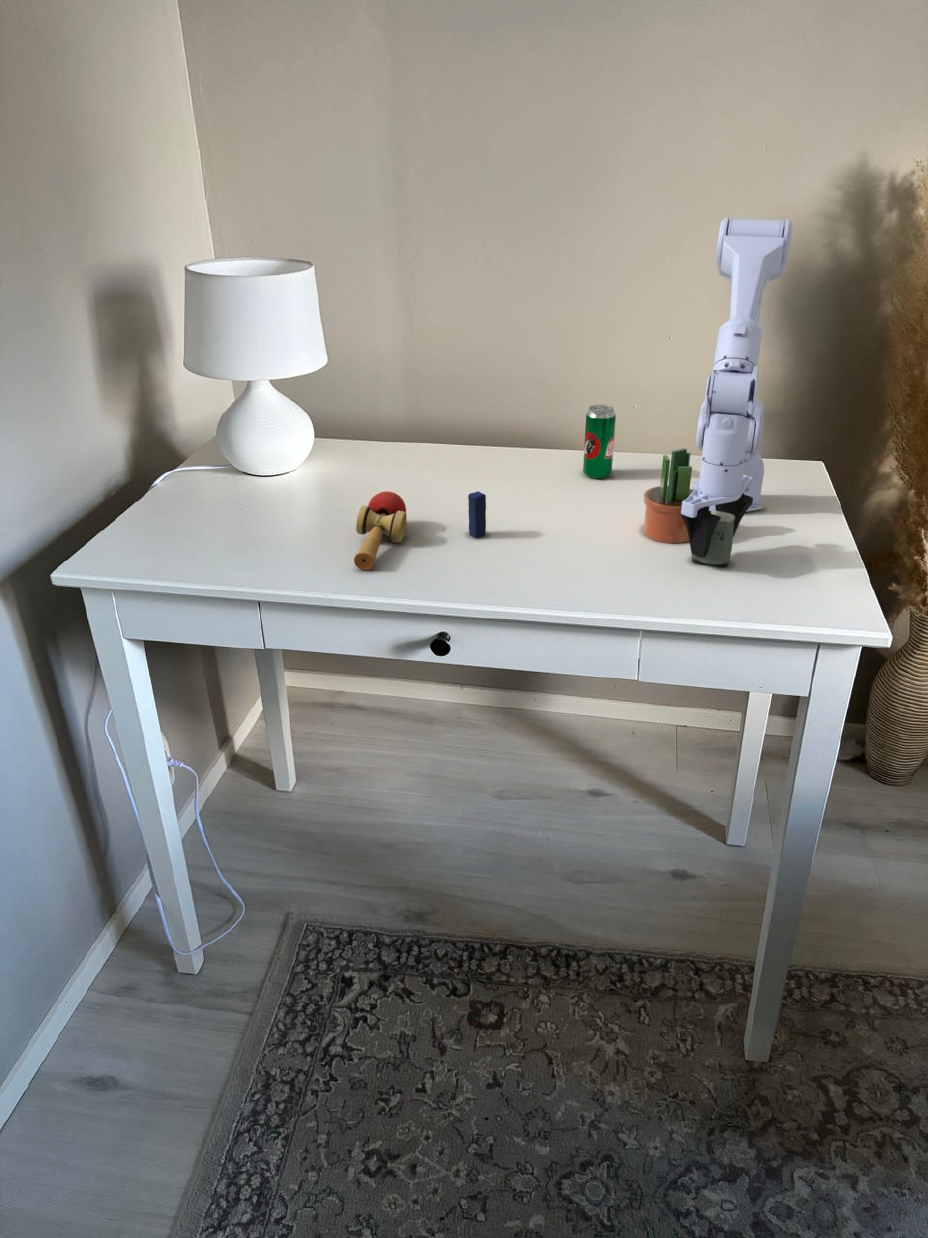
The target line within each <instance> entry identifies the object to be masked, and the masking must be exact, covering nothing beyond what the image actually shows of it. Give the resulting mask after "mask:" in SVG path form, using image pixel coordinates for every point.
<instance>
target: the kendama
mask: <svg viewBox="0 0 928 1238" xmlns="http://www.w3.org/2000/svg"><path fill="white" fill-rule="evenodd" d="M355 523H356V524H355V530H356V531H355V532H356V533H357V534H358V535H363V536H364V535H366V534H367V535H366V537H365V538H364V540H363V541H362V544H361V546H359V547H360V548H359V549H358V551H357V552H356V554H355V555H354V557H353V563H354V565H355V567H357V568H358V569H359V570H361V571H369V570H371V569H373V567H374V566H375V562H376V558H377V555H378V551H379V548H380V545H381V541H382V536H383V534H384V535H386V536H387V537H389V539H390V540H391V541H392V543H398V544H400V543H401V542H402V540H403V538H404V535H405V531H406V526H407V505H406V503H405V501H404V499H403V497H401V496H400V495H399V494H397V493H396V492H393V491H388V490H387V491H385V490H384V491H381V492H378V493H376V494H374V496H373V497H372V498H371V499H370V501H369V502H368V505H362V506H360V508H359V511H358V513H357V518H356V522H355Z"/></svg>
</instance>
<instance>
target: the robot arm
mask: <svg viewBox="0 0 928 1238" xmlns="http://www.w3.org/2000/svg"><path fill="white" fill-rule="evenodd" d="M793 226H794V223H793V222H792V221H791V219H790V218H786V219H785V220H784V219H754V218H730V217H727V216H725V217H724V219H722V220H721V222H720V224H719V230H718V236H717V244H716V255H715V256H716V257H715V259H716V268H717V271H718V275H719V276H721V277H724V278H726V279H728V280H729V281H730V284H731V290H730V291H731V293H730V308H729V319H728V320H727V321H725V322H724V323H723V324H721V326H719V329H718V333H717V340H716V347H715V354H714V359H713V366H712V373H709V374H708V376H707V381H706V388H705V394H704V400H703V402H702V403H701V406H700V410H699V411H700V413H699V415H698V421H697V427H696V435H695V436H696V437H695V447H696V448H697V450H698V451H701V459H700V469H699V476H698V480H696V481H693V482H692V483H691V489H693V490H694V491H693V492H692V493H691V495H690V496H689V497H688V498H687V499H686V500H684V501H682V506H681V507H680V515H681V517H682V519H683V521H684V523H685V525H686V528H687V531H688V536H689V541H688V542H689V549H690V553H691V555H692V554H693V555H695V556H698V557H701V558H704V557H706V555H707V553H708V550H709V546H710V541H711V537H712V534H713V531H714V529H715V527H716V525H717V523H718V522H719V520H720V519H721V517H720V516H717V515H714V514H711V511H719V512H726V513H730V514H733V515H734V516H735V520H734V527H733V539H734V537H735V535H736V534H737V533H736V532H737V530H738V528H739V525H740V523H741V522H742V519H743V518H744V516H745V515H746V513H748V512H754V511H760V510H762V509H763V506H762V505H761V504H760V502H761V495H762V488H763V484H764V483H763V482H764V475H765V465H764V464H765V463H764V460H763V458H762V456H761V454H759V452H760V447H761V442H762V435H763V428H764V420H765V419H764V414H765V408H764V404H763V403H762V402H761V400H759V399H758V398H757V396H758V390H759V384H760V383H759V382H760V380H759V379H760V378H759V361H760V353H761V346H762V340H763V339H762V338H763V329H762V328H761V326H760V324H759V319H760V314H761V306H762V299H763V294H764V292H765V290H766V288H767V286H768V284H769V282H772V281H775V280H777V279H781V278H782V277H783V273H785V272H786V266H787V264H788V261H789V256H790V255H789V253H790V248H791V240H792V234H793Z"/></svg>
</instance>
